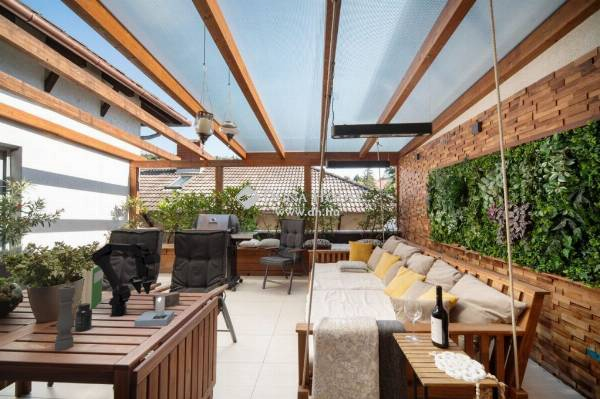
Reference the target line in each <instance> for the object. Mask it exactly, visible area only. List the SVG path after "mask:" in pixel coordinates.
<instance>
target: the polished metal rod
mask: <svg viewBox="0 0 600 399" xmlns="http://www.w3.org/2000/svg"><path fill="white" fill-rule="evenodd" d="M154 309H155V310H154V311H155V319H164V311H166V310H165V309H166V308H165V297H164V296H160V297H156V302H155V307H154Z"/></svg>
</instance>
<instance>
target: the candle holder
mask: <svg viewBox="0 0 600 399" xmlns="http://www.w3.org/2000/svg"><path fill="white" fill-rule="evenodd" d="M57 291H58V292H57V293H58V294H57V295H58V299H59V301H58V305H59V306H60V309H59V315H58V318H57V321H56V325H55V330H56V331H57V333H58V334H57V336H56V337H55V341H54V351H55V352H61V351H62V352H63V351H67V350H69V349H71V348H73V347H74V334H73V332H72V329H73V327H75V319H74V316H73V312H72V310H73V309H72V307H73V306H72V305H73V303H75V302H74V301H75V300H74V299H73V298H74V296H75V295H76V285H66V286H61V287H58V290H57ZM66 349H67V350H66Z"/></svg>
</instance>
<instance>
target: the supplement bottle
mask: <svg viewBox="0 0 600 399" xmlns="http://www.w3.org/2000/svg"><path fill="white" fill-rule="evenodd" d="M92 322H93V309H91V308H90V303H84V304H79V305H77V310H75V313H74V326H73V327H74V331H75V332H76V333H77V332H85V331H89V330H91V329H92Z"/></svg>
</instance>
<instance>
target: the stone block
mask: <svg viewBox="0 0 600 399" xmlns="http://www.w3.org/2000/svg"><path fill="white" fill-rule="evenodd" d="M160 296H164V297H165V309H166V308H170V307H174V306H178V305H179V303H180V296H181V292H178V291H173V292H166V293H162V294H156V295H153V296H152V303H153V308H155V302H156V297H160Z"/></svg>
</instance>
